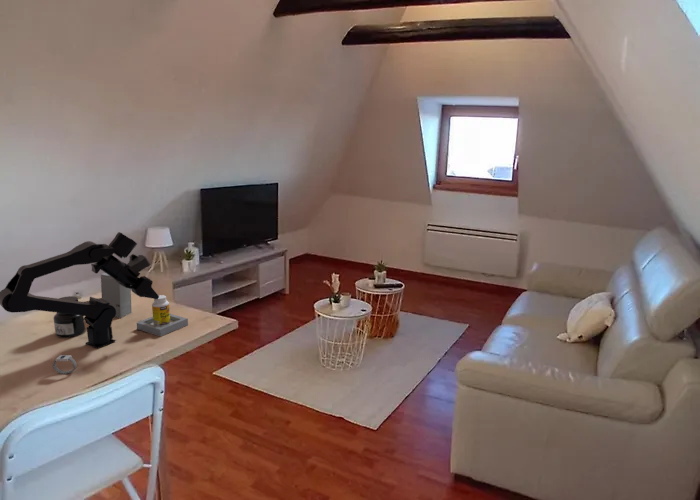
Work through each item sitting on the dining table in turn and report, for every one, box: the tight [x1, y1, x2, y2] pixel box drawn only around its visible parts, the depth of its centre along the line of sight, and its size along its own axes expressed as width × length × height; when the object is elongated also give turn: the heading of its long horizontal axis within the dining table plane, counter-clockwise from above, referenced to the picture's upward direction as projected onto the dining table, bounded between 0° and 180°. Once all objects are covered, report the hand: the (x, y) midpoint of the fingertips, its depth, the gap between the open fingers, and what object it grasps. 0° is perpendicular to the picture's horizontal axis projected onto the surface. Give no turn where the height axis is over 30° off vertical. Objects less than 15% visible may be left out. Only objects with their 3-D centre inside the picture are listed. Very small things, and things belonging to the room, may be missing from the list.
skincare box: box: [100, 272, 132, 319], centre depth 196 cm, size 8×7×16 cm
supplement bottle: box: [151, 294, 171, 327], centre depth 184 cm, size 6×6×10 cm
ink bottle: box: [53, 295, 86, 339], centre depth 179 cm, size 10×9×12 cm
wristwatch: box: [52, 354, 77, 375], centre depth 152 cm, size 6×3×5 cm, turn 92°
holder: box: [136, 313, 189, 337], centre depth 186 cm, size 12×12×2 cm
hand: (152, 294), depth 181 cm, fingers open, 9 cm apart
